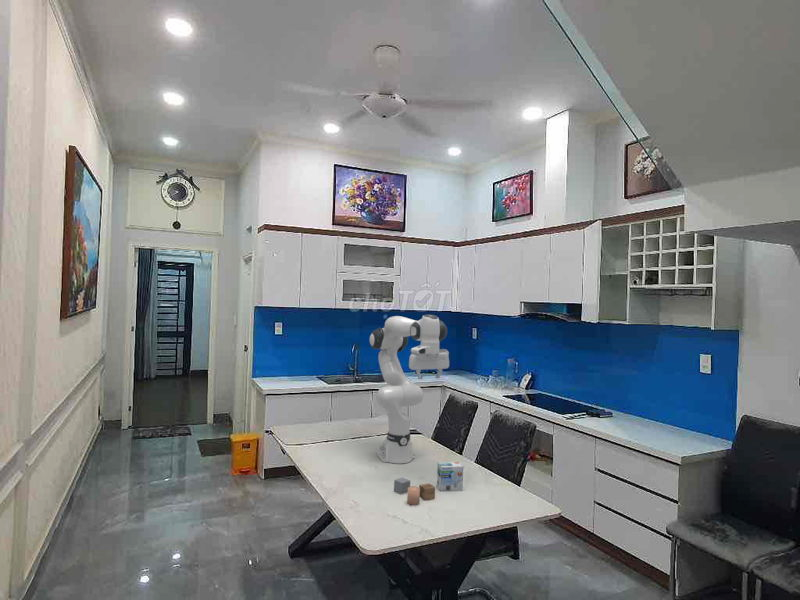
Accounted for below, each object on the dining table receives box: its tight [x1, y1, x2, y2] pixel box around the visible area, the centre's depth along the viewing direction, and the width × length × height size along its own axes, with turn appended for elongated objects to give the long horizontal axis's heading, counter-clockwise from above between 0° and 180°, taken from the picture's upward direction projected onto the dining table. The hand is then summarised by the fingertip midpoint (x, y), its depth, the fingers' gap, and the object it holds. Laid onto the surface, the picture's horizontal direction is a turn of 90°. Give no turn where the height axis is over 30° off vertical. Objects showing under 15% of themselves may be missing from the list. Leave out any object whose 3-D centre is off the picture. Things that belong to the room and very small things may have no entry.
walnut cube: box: [418, 483, 436, 501], centre depth 217 cm, size 5×5×5 cm
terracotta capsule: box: [406, 485, 420, 506], centre depth 210 cm, size 5×5×6 cm
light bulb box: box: [436, 461, 464, 492], centre depth 228 cm, size 11×7×11 cm, turn 101°
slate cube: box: [393, 476, 411, 495], centre depth 223 cm, size 5×5×5 cm
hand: (429, 378), depth 238 cm, fingers open, 8 cm apart
